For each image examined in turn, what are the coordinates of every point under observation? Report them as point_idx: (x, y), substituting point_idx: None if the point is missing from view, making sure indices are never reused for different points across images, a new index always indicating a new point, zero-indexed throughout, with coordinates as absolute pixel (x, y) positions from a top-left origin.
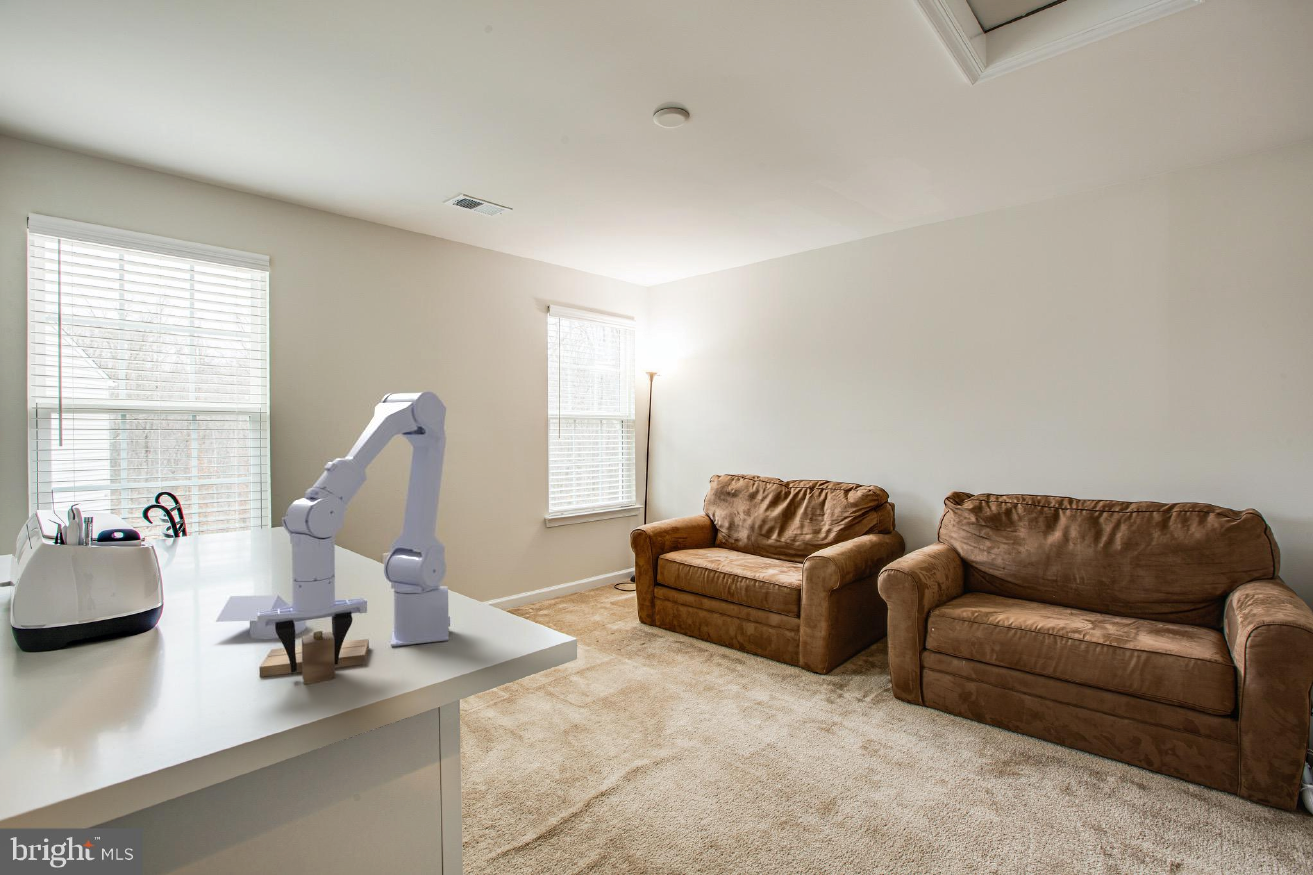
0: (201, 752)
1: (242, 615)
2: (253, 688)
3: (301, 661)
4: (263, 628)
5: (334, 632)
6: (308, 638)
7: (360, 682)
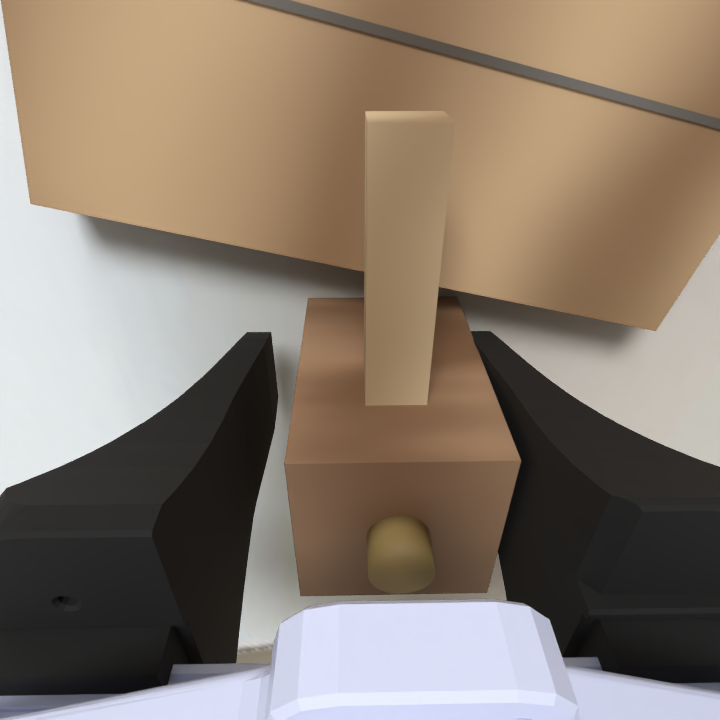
0: None
1: None
2: (90, 346)
3: (300, 249)
4: None
5: (512, 581)
6: (332, 530)
7: None
